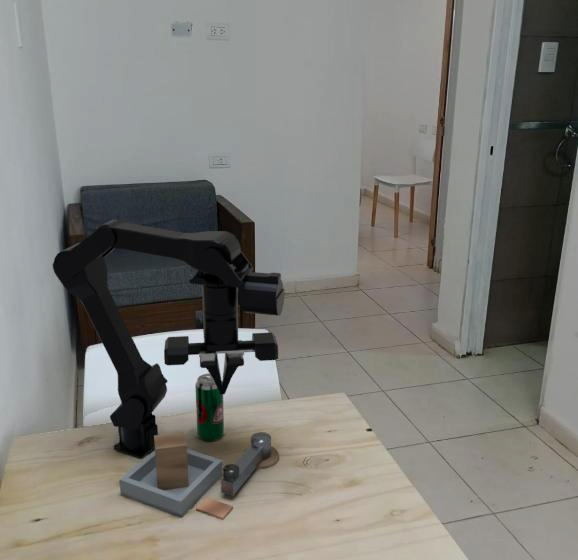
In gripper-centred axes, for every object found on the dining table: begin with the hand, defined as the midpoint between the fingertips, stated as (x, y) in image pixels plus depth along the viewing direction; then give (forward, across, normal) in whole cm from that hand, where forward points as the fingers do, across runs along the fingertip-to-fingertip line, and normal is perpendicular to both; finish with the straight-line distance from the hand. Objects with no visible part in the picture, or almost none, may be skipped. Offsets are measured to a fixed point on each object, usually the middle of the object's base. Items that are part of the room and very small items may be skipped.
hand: (222, 393), depth 107 cm
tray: (+13, +9, +7) cm, 17 cm away
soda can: (+13, +2, -8) cm, 15 cm away
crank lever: (+12, -4, +5) cm, 14 cm away
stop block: (+12, +9, +7) cm, 17 cm away
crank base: (+13, -3, +7) cm, 15 cm away
